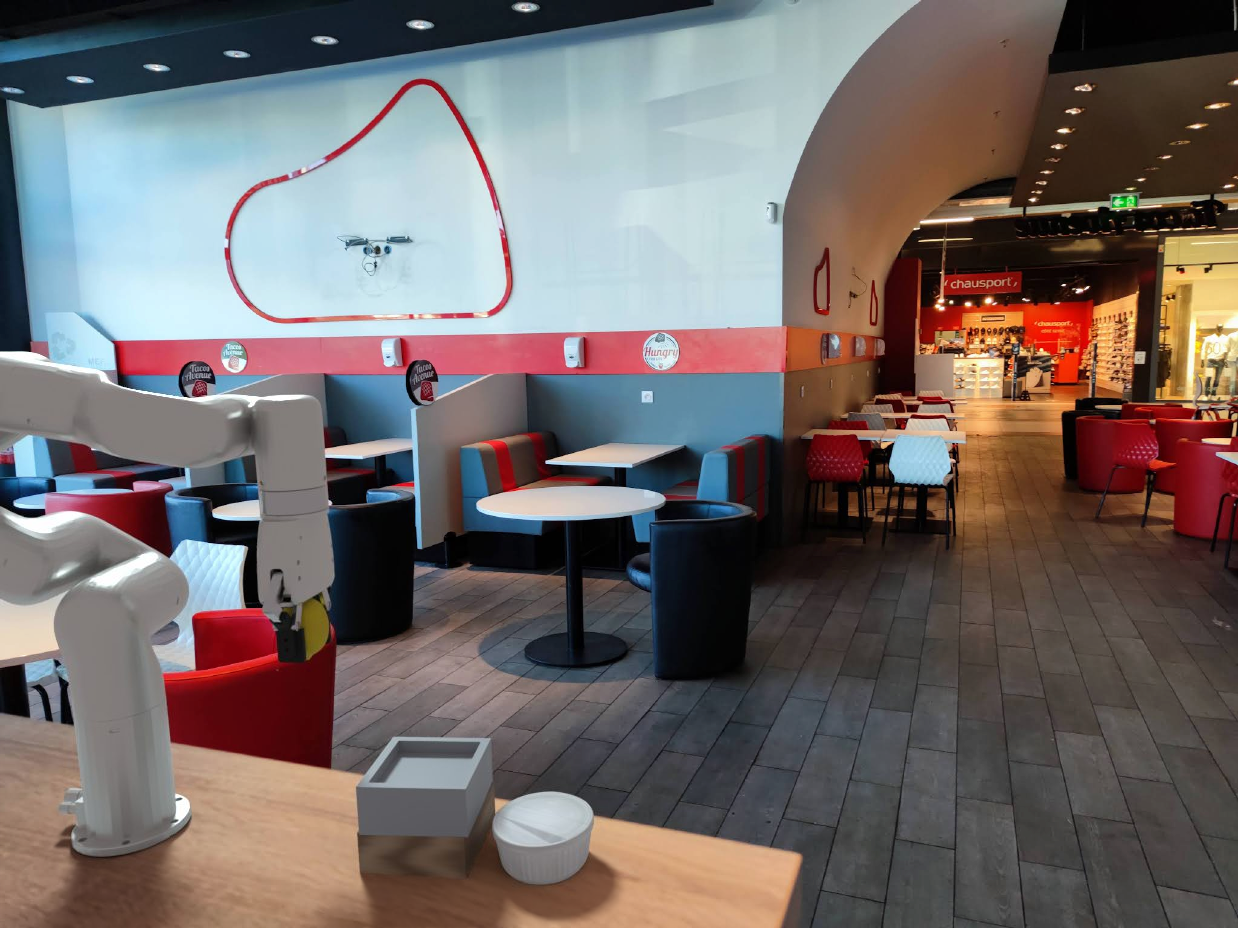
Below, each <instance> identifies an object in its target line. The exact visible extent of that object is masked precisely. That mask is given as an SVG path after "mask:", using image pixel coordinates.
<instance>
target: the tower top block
mask: <svg viewBox="0 0 1238 928" xmlns="http://www.w3.org/2000/svg"><path fill="white" fill-rule="evenodd" d="M492 752H493V751H492V738H490V737H486V738H485V737H445V736H444V737H436V736H432V737H431V736H429V737H428V736H427V737H425V736H423V737H422V736H393V737H392V738H391V740H390V741H389V742H388V743H387V745H386V746H385V747H384V749H383V750H382V751H381V753H380V754H379V756H378V757H377V758H376V759H375V761H374V762H373V763H372V765H371V766H370V767H369V768H368V770H367V772H366V773H365V774H364V776H363V777H362V779H360V780H359V782H358V784H357V785H356V787H355V795H356V807H357V826H358V831H359V835H390V836H432V837H468V836H469V834H470V832H471V829H472V827H473V825H474V823H475V820H476V818H477V816H478V814H479V811H480V809H481V807H482V805H483V802H484V800H485V798H486V796H487V793H488V791H489V789H490V787H491V784H492V782H494V778H493V777H494V775H493V758H492V757H493V755H492V754H493V753H492Z"/></svg>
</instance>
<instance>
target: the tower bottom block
mask: <svg viewBox="0 0 1238 928" xmlns="http://www.w3.org/2000/svg"><path fill="white" fill-rule="evenodd" d="M495 794H496V793H495V781H493V782H492V784H491V787H490V789H489V791H488V793H487V796H486V798H485V800H484V802H483V805H482V807H481V809H480V811H479V814H478V816H477V818H476V820H475V823H474V825H473V827H472V829H471V832H470V834H469V836H468V837H432V836H390V835H359V830H358V831H356V837H357V853H358V866H359V873H362V874H363V873H364V874H380V875H381V874H382V875H393V876H394V875H396V876H397V875H398V876H399V875H400V876H414V877H416V876H417V877H429V878H431V877H432V878H445V879H446V878H447V879H448V878H449V879H461V880H463V879H464V880H466V879H467V878H466V877H468V875H469V874H468V873H470V871H471V870H470V869H472V867H473V865H474V864H475V861H476V859H477V858H478V855H479V853H480V851H481V849H482V848H483V845H484V843H485V841H486V840H487V837H488V836H489V833H490V831H491V830H492V821H493V818H494V816H495V814H496V797H495Z"/></svg>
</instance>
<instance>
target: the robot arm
mask: <svg viewBox="0 0 1238 928" xmlns="http://www.w3.org/2000/svg"><path fill="white" fill-rule="evenodd" d="M28 436H32V437H38V438H43V439H50V440H55V441H56V440H57V441H62V442H69V443H75V444H80V445H81V444H82V445H85V446H87V447H89V448H91V449H93V450H96V451H99V452H102V453H104V454H108V455H110V456H114V457H118V458H122V459H125V460H126V459H127V460H131V461H135V462H143V463H149V464H155V465H163V466H169V467H176V468H181V469H182V468H184V469H185V468H186V469H202V468H209V467H212V466H216V465H219V464H221V463H225V462H228V461H232V460H235V459H240V458H242V457H243V458H244V457H247V456H252V455H254V458H255V468H256V470H255V471H256V480H257V481H256V482H257V493H258V505H259V507H258V508H259V517H260V520H259V523H258V530H257V531H258V532H257V543H256V544H257V545H256V549H257V550H256V562H257V563H256V574H257V594H258V600H259V603H260V604H261V605H262V609H261V611H262V614H263V615H264V616H266V617H267V618H268V620H269V621H270V623H271V624H272V630H273V631H275V638H276V639H275V640H276V651H277V652H276V653H277V660H278V663H281V664H304V663H305V662H306V661H307V660H306V646H305V633H304V628H300V624H301V613H302V603H304V602H305V601H307V600H309V599H310V598H313V599H315V600H317V601H318V602H320V603H321V604H322V606H323V607H324V609H325V611H326V614H327V617H328V621H329V634H328V638H327V641H326V643H325V645H329V644H330V643H331V642H332V628H331V625H332V624H331V614H330V609H331V607H332V602H331V598H330V597H331V593H332V591H333V590H332V589H333V588H332V585H333V582H334V580H335V577H336V573H335V559H334V550H333V549H334V548H333V541H332V533H331V528H330V522H329V515H328V514H329V513H330V504H329V491H328V489H329V487H328V480H327V479H328V478H327V477H328V476H327V462H326V461H327V460H326V449H325V445H326V444H325V435H324V420H323V410H322V405H321V402H320V401H319V400H318V398H316V397H315V396H313V395H310V394H309V395H308V394H279V395H268V396H263V397H260V396H253V395H251V396H250V395H242V394H234V393H233V394H232V393H231V394H229V393H228V394H217V395H215V394H214V395H207V396H199V397H194V398H190V397H180V396H173V395H166V394H162V393H154V392H148V391H144V390H143V391H142V390H136V389H131V388H127V387H125V386H124V387H123V386H121V385H118V384H115V383H114V381H113V379H112V378H111V376H109V375H108V374H107V373H106V372H104V371H102V370H99V369H94V368H86V367H80V366H73V365H68V364H67V365H66V364H61V363H56V362H55V361H53V360H51V359H50V358H48V357H46V356H44V355H41V354H39V353H35V352H29V351H0V454H2V453H3V452H5V451H6V450H8V449H10V448H12V447H13V446H14V445H15V444H17V443H19V442H20V441H21V440H23V439H24V438H26V437H28ZM63 593H65V594H64V595H63V597H62V598H61V600H60V601H59V603H58V605H57V607H56V609H55V611H54V616H53V617H54V618H53V631H54V633H53V634H54V637H55V641H56V643H57V646H58V647H57V648H58V650H59V653H60V655H61V657H62V661H63V665H64V666H65V670H66V671H65V673H66V674H67V675H66V676H67V680H68V687H69V692H70V700H71V708H72V716H73V723H74V732H75V733H74V734H75V739H76V742H75V743H76V749H77V758H78V767H79V777H80V786H81V788H76V787H69V789H67V790H66V791H65V793H64V795H63V801H62V802H60V804H59V806H58V809H57V810H58V814H61V815H75V816H76V821H77V823H76V825H75V826H74V827H73V829H72V832H70V833H71V836H70V837H71V845H72V848H73V850H75V851H76V852H77V853H79V854H82V855H83V856H84V855H85V856H89V857H98V858H99V857H100V858H102V857H104V858H105V857H115V856H120V855H121V856H122V855H127V854H130V853H134V852H135V853H136V852H138V851H142V850H144V849H145V850H146V849H148V848H151V847H153V846H154V845H157V843H158V844H160V843H161V841H162V842H163V840H164V841H165V839H166V838H167V839H169V838H171V837H172V836H174V835H175V834H177V833H178V832H179V831H180V830H182V829H183V828H184V827H185V825H187V823H188V822H189V820H190V819H191V816H192V806H191V803H190V800H189V799H188V798H187V797H185V796H183V795H181V794H178V793H176V788H175V776H174V767H173V766H174V765H173V756H172V746H171V736H170V734H171V733H170V723H169V716H168V715H169V714H168V705H167V694H166V688H165V687H166V686H165V685H166V684H165V679H164V673H163V670H162V667H161V664H160V661H159V659H158V657H157V654H156V653H155V650H154V647H153V645H152V641H151V640H152V636H153V635H154V634H156V633H157V632H158V631H159V630H161V629H163V628H164V627H165V626H167V625H168V624H170V623H171V622H173V621H174V620H175V619H176V618H177V617H178V616H180V614H181V613H182V612H183V610H185V607H186V606H187V603H188V602H189V600H188V599H189V597H190V586H189V582H188V579H187V577H186V575H185V573H184V572H183V570H182V569H181V567H179V566H178V564H177V563H176V562H174V561H173V560H172V559H170V557H168V556H166V555H165V554H163V553H161V552H160V551H158V550H157V549H155V548H153V547H151V546H149V545H147V544H146V543H144V542H143V541H141V540H139V539H137V538H135V537H133V536H132V535H130V534H129V533H126V532H125V531H123V530H121V529H119V528H117V527H116V526H114V525H113V524H110V523H108V522H107V521H106V520H103V519H102V518H99V517H96V516H94V515H92V514H88V513H85V512H81V511H74V510H62V511H56V512H52V513H47V514H45V515H41V516H38V517H26V516H25V517H24V516H23V515H19V514H17V513H15V512H12V511H10V510H8V509H7V508H4V507H2V506H0V600H2V601H4V602H7V603H9V604H12V605H15V606H24V607H25V606H32V605H36V604H41V603H44V602H46V601H49V600H50V599H51V600H52V599H53V598H55V597H57V596H59V595H62V594H63ZM284 598H290V601H284V600H285V599H284ZM284 608H293V609H292V617H291V616H290V615H289V614H288V612H286V611H284ZM173 834H174V835H173ZM171 835H172V836H171ZM170 836H171V837H170ZM167 839H166V840H167ZM159 842H160V843H159Z"/></svg>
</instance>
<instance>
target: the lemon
mask: <svg viewBox="0 0 1238 928" xmlns="http://www.w3.org/2000/svg"><path fill="white" fill-rule="evenodd" d="M292 609H293V608H284V611H286V612H288V614H289V615H290V616H291V617H292ZM326 611H327V610H326ZM326 611H325V609H324V607H323V606H322V604H321V603H320V602H318V601H317V600H315V599H313V598H310V599H309V600H307V601H305V602H304V603H302V613H301V624H300V628H304V633H305V646H306V661H309V660H310V659H311V658H312V656H313V655H315V654H317V653H318V652H320V651H321V650H322V649H323V647H324V646H326V644H325V643H326V641H327V638H328V634H329V621H328V617H327V614H326Z"/></svg>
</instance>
